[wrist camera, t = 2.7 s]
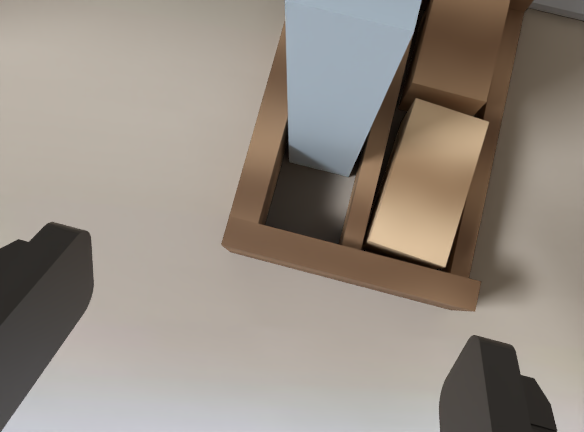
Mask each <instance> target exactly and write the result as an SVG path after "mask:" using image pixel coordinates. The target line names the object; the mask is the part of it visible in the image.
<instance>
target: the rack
mask: <svg viewBox="0 0 584 432" xmlns="http://www.w3.org/2000/svg"><path fill="white" fill-rule="evenodd" d="M429 1H430V0H422V1H421V5H420V8H421V9H425V10H426V8H427V5H428V3H429ZM533 1H534V0H510V3H509V8H508V12H507V16H506V21H505V25H504V29H503V33H502V38H501V42H500V46H499V51H498V55H497V59H496V63H495V68H494V72H493V76H492V81H491V85H490V89H489V93H488V98H487V102H486V103H485V104H484V105H483V106H482V107H481V108H480V109H479V110H478V111H477V112H476V113H475V117H476V118H479V119H482V120H485V121H488V122H489V125H488V128H487V131H486V135H485V138H484V141H483V144H482V148H481V151H480V154H479V158H478V161H477V164H476V168H475V171H474V174H473V177H472V181H471V184H470V187H469V191H468V194H467V197H466V201H465V204H464V207H463V210H462V214H461V217H460V220H459V224H458V227H457V230H456V234H455V237H454V240H453V243H452V247H451V250H450V253H449V257H448V260H447V263H446V267H444V268H442V269H441V271H439V270H435V269H431V268H427V267H423V266H419V265H416V264H412V263H408V262H404V261H400V260H396V259H392V258H389V257H385V256H381V255H377V254H373V253H369V252H366V251H362V250H361V247H362V243H363V239H364V235H365V231H366V227H367V223H368V218H369V214H370V210H371V206H372V202H373V198H374V194H375V190H376V185H377V181H378V177H379V173H380V169H381V165H382V161H383V157H384V152H385V148H386V144H387V140H388V136H389V132H390V128H391V124H392V119H393V115H394V111H395V107H396V103H397V99H398V95H399V91H400V86H401V82H402V78H403V74H404V70H405V66H406V62H407V58H408V53H409V49H410V45H411V41H412V37H413V35H412V37H411V40H410V42H409V44H408V46H407V48H406V51H405V53H404V55H403V57H402V60H401V62H400V64H399V66H398V68H397V71H396V73H395V75H394V77H393V79H392V82H391V84H390V86H389V88H388V91H387V93H386V95H385V97H384V99H383V102H382V104H381V106H380V108H379V111H378V113H377V115H376V117H375V119H374V122H373V124H372V126H371V128H370V130H369V133H368V135H367V137H366V139H365V142H364V145H363V149H362V153H361V157H360V161H359V165H358V169H357V173H356V177H355V181H354V185H353V189H352V193H351V197H350V201H349V205H348V209H347V213H346V217H345V221H344V225H343V229H342V233H341V237H340V241H339V244H335V243H331V242H327V241H323V240H319V239H316V238H312V237H308V236H304V235H300V234H296V233H293V232H289V231H285V230H281V229H277V228H273V227H269V226H266V225H265V223H266V219H267V216H268V212H269V208H270V205H271V201H272V197H273V194H274V190H275V186H276V183H277V179H278V175H279V172H280V168H281V164H282V161H283V157H284V153H285V150H286V146H287V142H288V139H289V137H288V100H287V62H286V24H285V22H284V26H283V29H282V33H281V36H280V40H279V43H278V47H277V50H276V54H275V57H274V61H273V64H272V68H271V71H270V75H269V78H268V82H267V85H266V89H265V92H264V96H263V99H262V103H261V106H260V110H259V114H258V117H257V121H256V124H255V128H254V131H253V135H252V138H251V142H250V145H249V149H248V152H247V156H246V159H245V163H244V166H243V170H242V173H241V177H240V180H239V184H238V187H237V191H236V194H235V198H234V201H233V205H232V208H231V212H230V215H229V219H228V222H227V226H226V230H225V233H224V237H223V240H222V244H221V245H222V246H223V247H225V248H226V249H227V250H228V251H230V252H232V253H236V254H240V255H244V256H247V257H251V258H255V259H259V260H263V261H266V262H270V263H274V264H278V265H282V266H285V267H289V268H293V269H297V270H301V271H304V272H308V273H312V274H316V275H320V276H323V277H327V278H331V279H335V280H339V281H342V282H346V283H350V284H354V285H358V286H361V287H365V288H369V289H373V290H377V291H380V292H384V293H388V294H392V295H396V296H399V297H403V298H407V299H411V300H415V301H418V302H422V303H426V304H430V305H434V306H437V307H441V308H445V309H449V310H459V311H475V309H476V304H477V300H478V295H479V290H480V285H481V281H477V280H473V279H469V275H470V270H471V266H472V261H473V256H474V251H475V246H476V242H477V237H478V232H479V227H480V222H481V218H482V213H483V208H484V203H485V198H486V194H487V189H488V184H489V179H490V174H491V170H492V165H493V160H494V155H495V150H496V146H497V141H498V136H499V131H500V126H501V122H502V117H503V112H504V107H505V103H506V98H507V93H508V88H509V83H510V79H511V74H512V69H513V64H514V59H515V55H516V50H517V45H518V40H519V35H520V31H521V26H522V21H523V16H524V12H525V11H526V10H527V8H528V7H529V6H530V5H531V3H532V2H533Z"/></svg>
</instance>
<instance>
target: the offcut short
mask: <svg viewBox="0 0 584 432" xmlns="http://www.w3.org/2000/svg"><path fill="white" fill-rule="evenodd" d="M509 3H510V0H430V1H429V3H428V5H427V8H426V10H425V12H424V14H423V16H422V18H421V22H420V26H419V29H418V33H417V37H416V41H415V45H414V49H413V52H412V56H411V60H410V64H409V68H408V72H407V76H406V79H405V83H404V87H403V91H402V95H401V99H400V102H399V106H398V109H401V110H404V111H408V110H409V109H410V107H411V105H412V104H413V102H414V100H415V99H416V98H418V99H421V100H424V101H427V102H430V103H433V104H436V105H439V106H442V107H445V108H448V109H451V110H454V111H457V112H460V113H463V114H466V115H469V116H473V115H474V114H475V113H476V112H477V111H478V110H479V109H480V108H481V107H482V106H483V105H484V104H485V103H486V102H487V98H488V93H489V89H490V85H491V81H492V76H493V72H494V68H495V63H496V59H497V55H498V51H499V46H500V42H501V38H502V33H503V29H504V25H505V21H506V16H507V12H508V8H509Z"/></svg>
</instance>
